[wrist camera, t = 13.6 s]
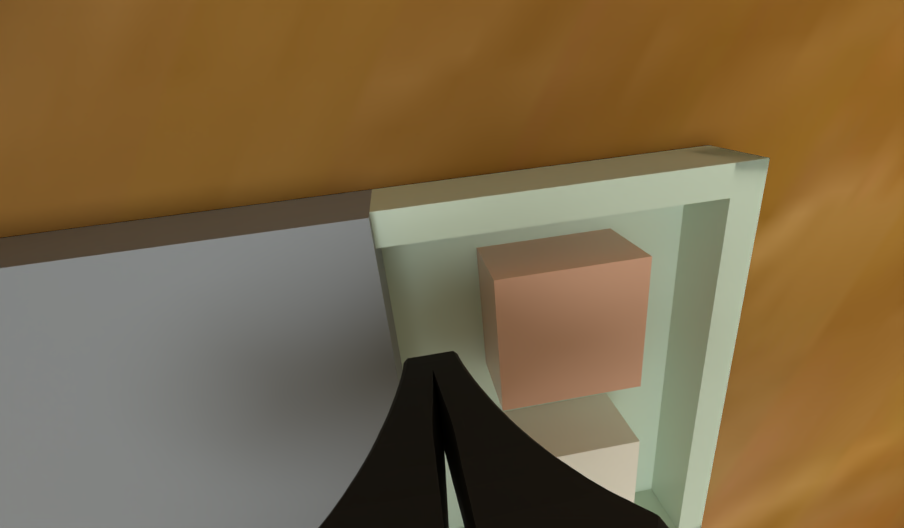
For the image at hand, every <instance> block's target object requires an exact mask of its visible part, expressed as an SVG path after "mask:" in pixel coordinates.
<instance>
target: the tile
mask: <svg viewBox="0 0 904 528" xmlns="http://www.w3.org/2000/svg"><path fill="white" fill-rule="evenodd" d="M504 413H505V414H506V415H507V416H508V417H509V418H510V419H511V420H512V421H513V422H514V423H515V424H516V425H517V426H518V427H519V428H521V429H522V430H523V431H524V432H525V433H526V434H527V435H529V436H530V437H531V438H532V439H533V440H535V441H536V442H537V443H538V444H540V445H541V446H542V447H544V448H545V449H546V450H547V451H549V452H550V453H551V454H553V455H554V456H555V457H557V458H558V459H560V460H561V461H563V462H564V463H566V464H567V465H569V466H570V467H572V468H573V469H575V470H576V471H578V472H579V473H581V474H582V475H584V476H585V477H587V478H588V479H590V480H592V481H593V482H595V483H597V484H599V485H600V486H602V487H604V488H605V489H607V490H609V491H611V492H613V493H615V494H617V495H619V496H621V497H623V498H625V499H627V500H629V501H631V502H633V503H634V499H635V488H636V477H637V466H638V455H639V444H640V441H639V440H638V438H637V437H636V435H635V434H634V432H633V431H632V430H631V428H630V427H629V425H628V424H627V422H626V421H625V419H624V418H623V417H622V415H621V414H620V412H619V411H618V409H617V408H616V407H615V405H614V404H613V402H612V401H611V399H610V398H609V397H608V395H607V394H600V395H595V396H589V397H584V398H578V399H573V400H567V401H562V402H556V403H551V404H545V405H540V406H534V407H528V408H523V409H517V410H512V411H506V412H504Z"/></svg>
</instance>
